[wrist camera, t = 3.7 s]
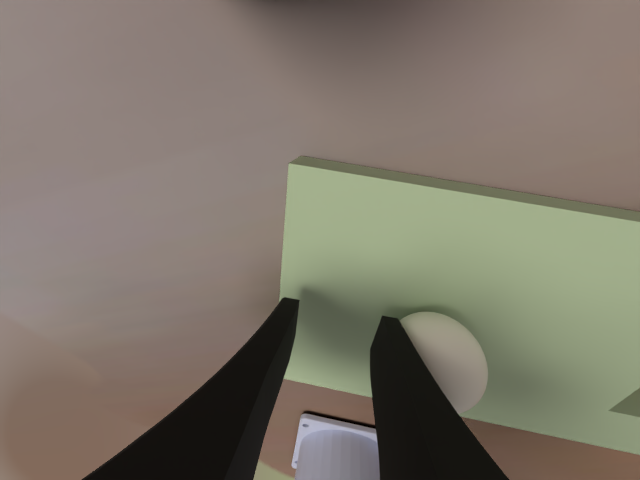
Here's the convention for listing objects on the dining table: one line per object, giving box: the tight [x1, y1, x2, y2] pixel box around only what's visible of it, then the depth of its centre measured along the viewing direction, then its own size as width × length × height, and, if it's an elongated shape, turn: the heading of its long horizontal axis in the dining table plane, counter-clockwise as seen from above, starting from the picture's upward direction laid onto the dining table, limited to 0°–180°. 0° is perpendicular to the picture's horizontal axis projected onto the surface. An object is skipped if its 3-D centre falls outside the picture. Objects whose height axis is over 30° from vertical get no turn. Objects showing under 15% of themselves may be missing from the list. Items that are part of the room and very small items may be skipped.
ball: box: [400, 312, 488, 414], centre depth 9 cm, size 3×3×3 cm
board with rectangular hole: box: [279, 156, 640, 455], centre depth 8 cm, size 12×24×7 cm, turn 82°
